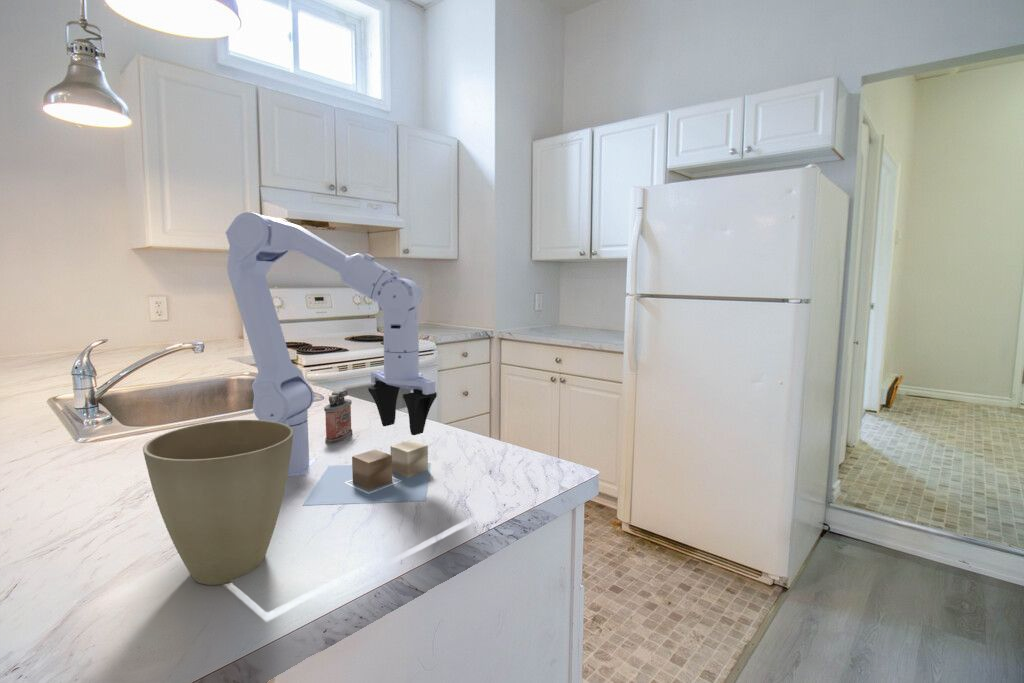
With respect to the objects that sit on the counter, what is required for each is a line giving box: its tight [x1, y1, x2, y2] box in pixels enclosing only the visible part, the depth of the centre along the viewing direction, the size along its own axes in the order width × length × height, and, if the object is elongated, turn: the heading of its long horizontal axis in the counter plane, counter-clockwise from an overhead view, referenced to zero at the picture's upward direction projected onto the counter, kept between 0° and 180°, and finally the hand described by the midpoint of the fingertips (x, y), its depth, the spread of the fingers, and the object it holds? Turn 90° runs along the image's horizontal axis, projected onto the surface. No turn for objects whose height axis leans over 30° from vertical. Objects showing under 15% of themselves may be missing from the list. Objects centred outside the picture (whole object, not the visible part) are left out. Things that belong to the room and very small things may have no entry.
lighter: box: [323, 388, 353, 445], centre depth 109 cm, size 8×3×10 cm, turn 169°
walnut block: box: [351, 449, 392, 490], centre depth 85 cm, size 4×4×4 cm
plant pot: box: [142, 419, 293, 586], centre depth 60 cm, size 15×15×16 cm
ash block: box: [389, 439, 429, 478], centre depth 90 cm, size 4×4×4 cm
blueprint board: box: [302, 462, 432, 507], centre depth 85 cm, size 18×16×1 cm
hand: (402, 429), depth 88 cm, fingers open, 7 cm apart
